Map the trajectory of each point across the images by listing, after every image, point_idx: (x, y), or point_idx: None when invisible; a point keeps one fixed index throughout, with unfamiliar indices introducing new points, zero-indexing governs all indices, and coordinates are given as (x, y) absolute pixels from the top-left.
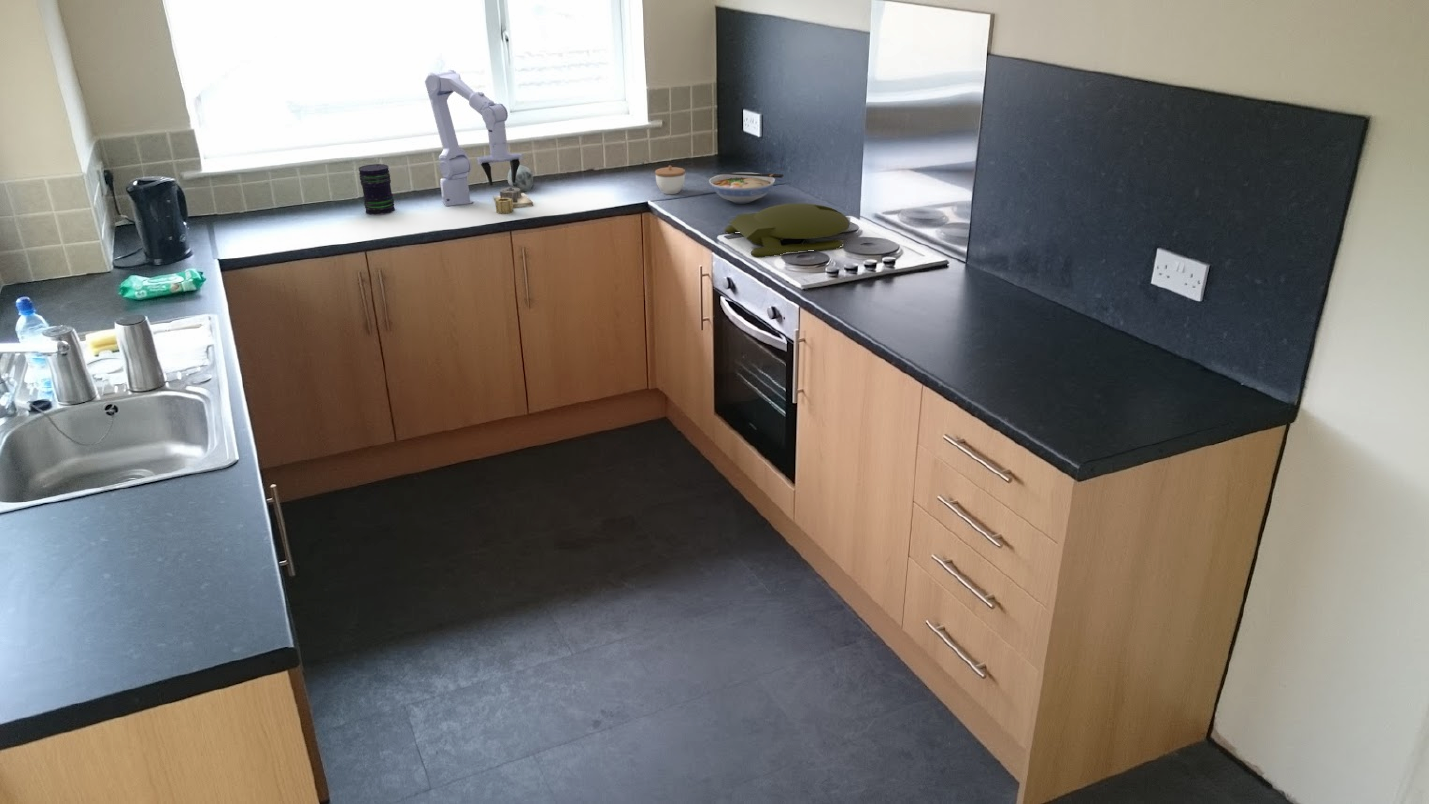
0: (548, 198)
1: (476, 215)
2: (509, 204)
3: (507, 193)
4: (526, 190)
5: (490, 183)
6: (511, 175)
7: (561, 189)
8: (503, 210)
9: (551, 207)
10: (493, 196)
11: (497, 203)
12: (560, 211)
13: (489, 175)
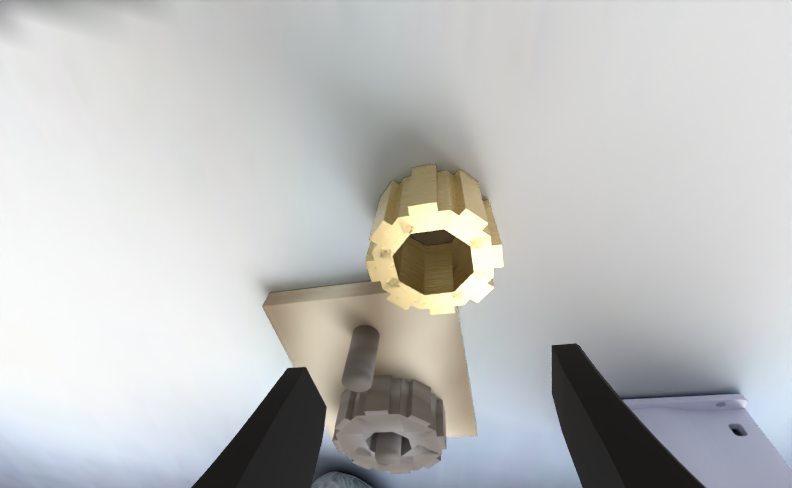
0: (219, 378)
1: (647, 168)
2: (391, 208)
3: (404, 410)
4: (332, 473)
5: (588, 361)
6: (311, 479)
7: (201, 458)
8: (443, 178)
9: (148, 230)
10: (476, 434)
11: (487, 225)
12: (45, 117)
13: (656, 471)
